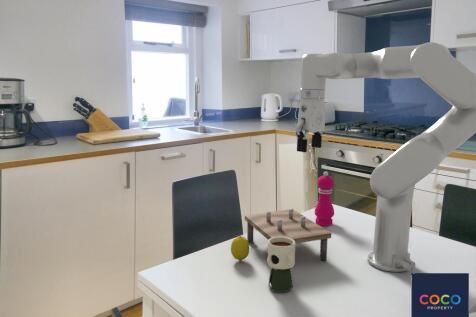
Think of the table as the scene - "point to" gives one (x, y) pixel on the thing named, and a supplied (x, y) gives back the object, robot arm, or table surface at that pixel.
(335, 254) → the table surface
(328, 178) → the pepper mill
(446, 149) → the robot arm
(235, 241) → the lemon
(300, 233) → the peg shelf
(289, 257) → the character mug
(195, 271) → the table surface
